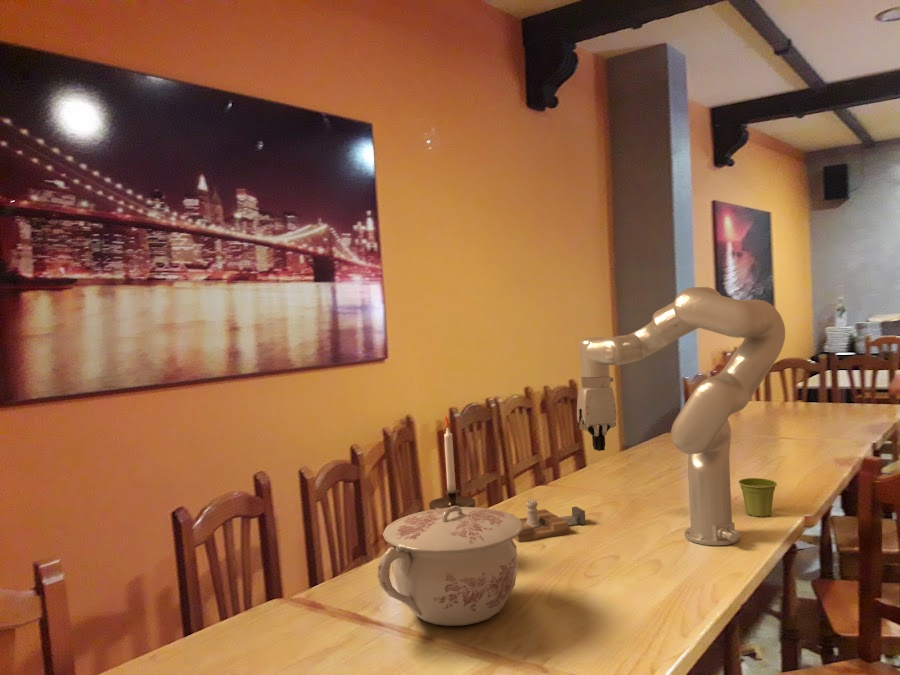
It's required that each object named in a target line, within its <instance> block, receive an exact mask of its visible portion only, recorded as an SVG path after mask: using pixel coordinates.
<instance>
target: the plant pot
mask: <svg viewBox="0 0 900 675" xmlns="http://www.w3.org/2000/svg"><path fill="white" fill-rule="evenodd" d="M738 484H739V485H740V489H741V491H742V496H743V497H742V498H743V503H744V508H745V514H747V516H750V515H751V516H753V517H755V516H760V517H759V518H764V517H763V516H766V517H769V516H768V515H770V516H772V510H773V501H774V494H775V493H774V492H775V490H776V487H777V485H778V483H777V482H776V481H774V480H772V479H767V478H758V477H757V478H756V477H748V478H742V479H740V480H738ZM761 516H762V517H761Z"/></svg>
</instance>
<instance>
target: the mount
mask: <svg viewBox="0 0 900 675" xmlns="http://www.w3.org/2000/svg"><path fill="white" fill-rule="evenodd" d="M511 514H512V513H511ZM512 515H514V514H512ZM537 517H538V520H539V522H540V523H541V520H543V521H544V522H545V527H541V528H535V529H533V527H531V526H530V525H528V524H527V523H526V521H527V517H522V518H519V517H517V518H518V519H519V520H521V521H522V522H523V530H522V531H521V532H520V533H519V535H518V536H517V537H516V538H514V539H513V540H515V541H516V542H518V543H523V542H528V541H534V540H541V539H546V538H552V537H559V536H565V535H569V534H570V532H569V529H570V528H569V525H568V522H567V521H565V520H563V519H561V518H560V517H561V516H558V515H556V514H554V513H553V512H551V511H548V509H545V508H543V509H537Z"/></svg>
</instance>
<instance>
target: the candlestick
mask: <svg viewBox="0 0 900 675" xmlns="http://www.w3.org/2000/svg"><path fill="white" fill-rule="evenodd" d="M444 420H445V425H446V426H445V427H446V430H445V433H444V434H443V436H444V454H445V467H446V468H445V469H446V485H447V489H446V490H443V491H442V492H443V493H444V494H447V496H444V497H439V498H435V499H433V500H431V501H430V502H429V503H428V507H429V508H428V510H431V509H439V508H447V507H452V506H459V507H476V506H477V504H476V503H477V502H476V499H474V498H472V497H468V496H461V495H460V496H459V495H457V493H459V492H461V490H460V489H457V488H456V476H455V458H454V457H455V456H454V442H453V433H451V431H450V420H449V419H448V418H447V414H445V416H444Z"/></svg>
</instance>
